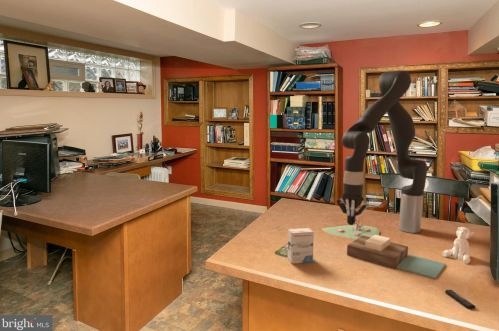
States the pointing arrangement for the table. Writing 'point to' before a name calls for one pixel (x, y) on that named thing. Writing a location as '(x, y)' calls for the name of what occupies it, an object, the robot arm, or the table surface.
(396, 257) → the plate
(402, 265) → the teal mat
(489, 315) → the table surface
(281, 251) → the smartphone
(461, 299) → the usb stick
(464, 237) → the sitting furry creature
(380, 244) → the ivory tile
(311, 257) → the ink box
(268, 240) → the table surface
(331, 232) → the green diorama
